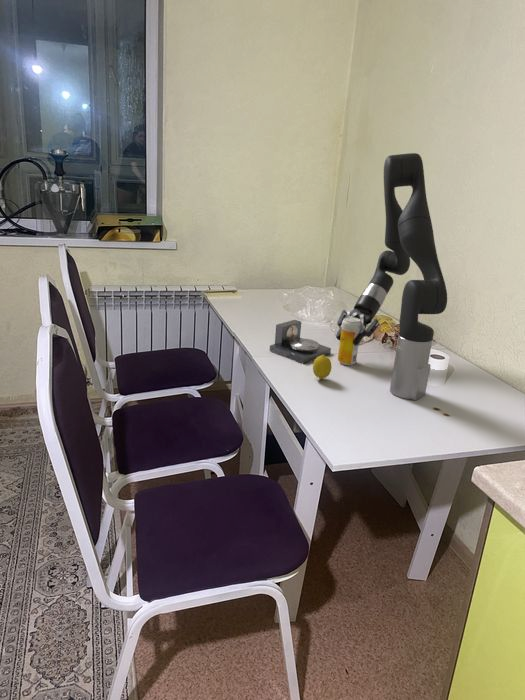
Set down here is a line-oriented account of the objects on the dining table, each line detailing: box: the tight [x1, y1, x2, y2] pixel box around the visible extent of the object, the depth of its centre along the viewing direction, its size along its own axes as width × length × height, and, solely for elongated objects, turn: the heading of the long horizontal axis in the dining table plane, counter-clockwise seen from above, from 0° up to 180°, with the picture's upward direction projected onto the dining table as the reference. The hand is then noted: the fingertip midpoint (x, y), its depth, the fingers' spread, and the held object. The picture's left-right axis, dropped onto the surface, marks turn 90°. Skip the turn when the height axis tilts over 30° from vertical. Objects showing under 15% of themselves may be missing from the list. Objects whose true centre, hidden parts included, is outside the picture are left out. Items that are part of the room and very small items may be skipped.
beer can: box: [337, 316, 361, 366], centre depth 161 cm, size 6×6×15 cm
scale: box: [269, 319, 332, 364], centre depth 169 cm, size 15×15×9 cm
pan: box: [290, 337, 320, 351], centre depth 169 cm, size 10×10×1 cm
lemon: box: [312, 355, 332, 380], centre depth 148 cm, size 6×6×8 cm
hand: (346, 341), depth 160 cm, fingers closed on beer can, 6 cm apart
